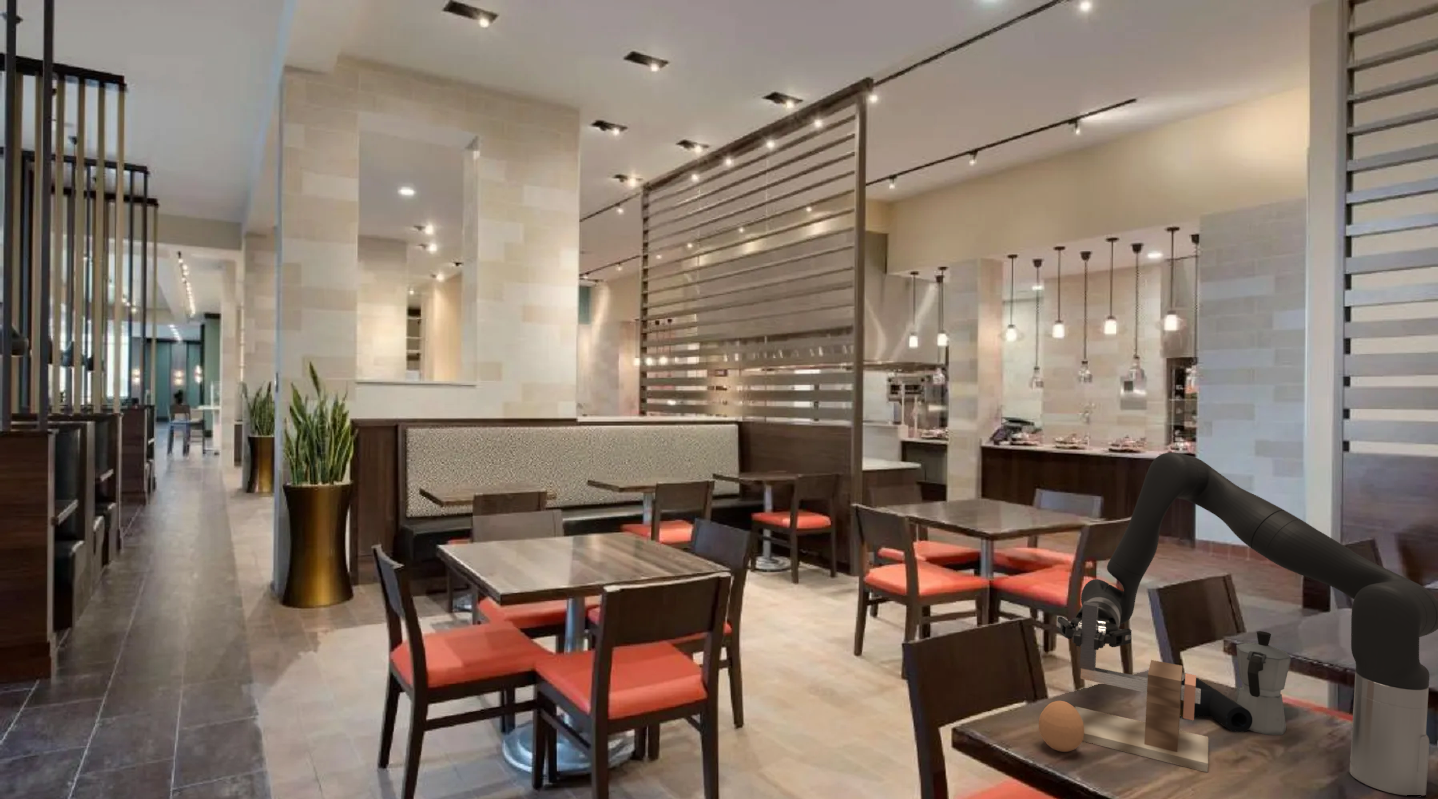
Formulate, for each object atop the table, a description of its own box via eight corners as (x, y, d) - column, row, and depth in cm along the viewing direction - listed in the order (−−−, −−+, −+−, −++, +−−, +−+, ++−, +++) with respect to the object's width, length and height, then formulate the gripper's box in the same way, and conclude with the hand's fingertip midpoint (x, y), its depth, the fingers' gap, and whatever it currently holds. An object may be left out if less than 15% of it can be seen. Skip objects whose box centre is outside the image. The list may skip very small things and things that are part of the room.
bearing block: (1207, 745, 142) (1211, 668, 142) (1207, 772, 132) (1211, 690, 131) (1075, 713, 154) (1078, 643, 153) (1065, 736, 144) (1069, 661, 143)
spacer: (1194, 708, 141) (1196, 675, 140) (1193, 720, 135) (1195, 686, 135) (1183, 706, 141) (1185, 673, 141) (1182, 718, 136) (1184, 683, 136)
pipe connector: (1192, 703, 148) (1148, 673, 163) (1190, 731, 148) (1146, 698, 163) (1253, 706, 148) (1204, 676, 163) (1251, 734, 148) (1202, 701, 163)
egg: (1079, 764, 133) (1082, 714, 133) (1033, 751, 137) (1036, 703, 137) (1086, 747, 140) (1088, 700, 139) (1041, 736, 144) (1044, 690, 143)
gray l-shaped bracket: (1200, 699, 139) (1204, 620, 138) (1200, 704, 136) (1204, 624, 136) (1081, 674, 149) (1084, 601, 148) (1079, 678, 147) (1082, 604, 146)
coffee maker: (1240, 708, 159) (1244, 620, 158) (1293, 723, 153) (1298, 631, 152) (1220, 730, 148) (1225, 635, 148) (1277, 747, 142) (1282, 648, 142)
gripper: (1062, 595, 162) (1047, 615, 148) (1138, 607, 155) (1130, 630, 140) (1060, 631, 163) (1045, 654, 148) (1136, 645, 155) (1128, 671, 141)
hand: (1087, 642), depth 144 cm, fingers closed on gray l-shaped bracket, 2 cm apart
